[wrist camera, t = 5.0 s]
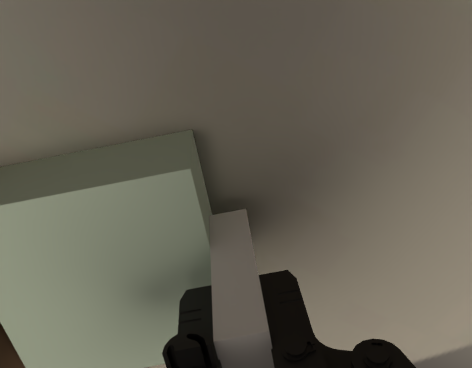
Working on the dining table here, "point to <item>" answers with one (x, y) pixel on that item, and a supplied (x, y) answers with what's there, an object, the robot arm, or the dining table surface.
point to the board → (8, 352)
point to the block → (102, 252)
